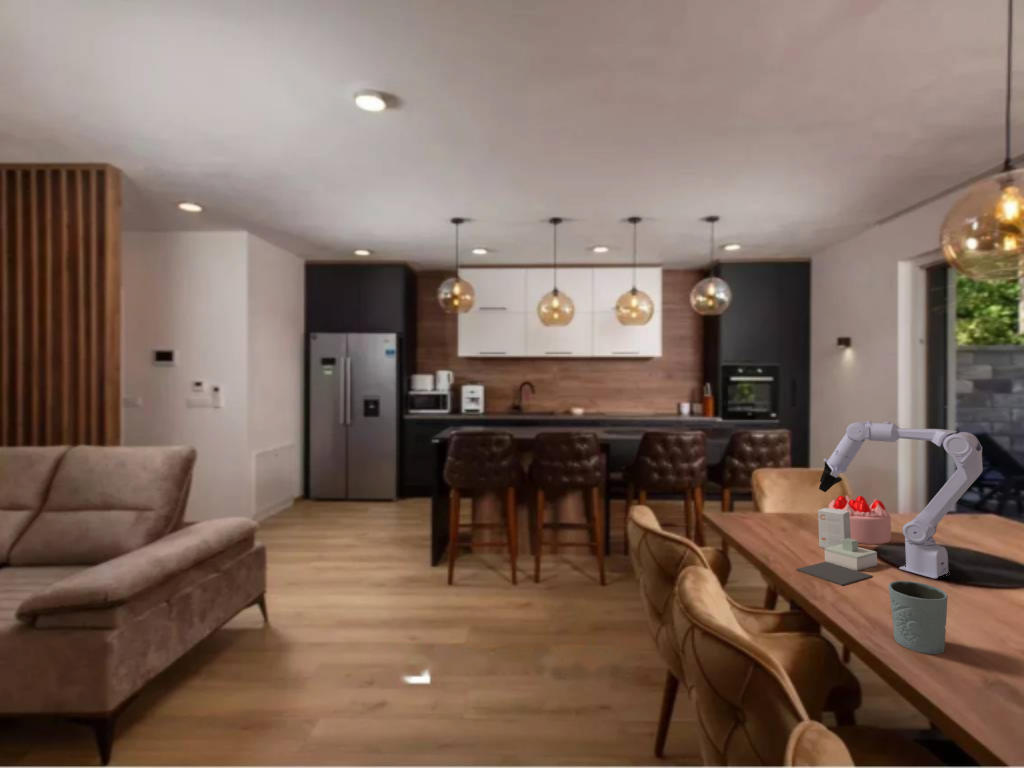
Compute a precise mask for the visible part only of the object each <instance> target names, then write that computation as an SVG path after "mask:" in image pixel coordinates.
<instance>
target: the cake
mask: <svg viewBox="0 0 1024 768" xmlns="http://www.w3.org/2000/svg"><path fill="white" fill-rule="evenodd" d="M873 499H874V500H873V502H872V503H871V504H869V503H868V501H867V500H866V498H865V497H864V496H863V495H859V496H856V498H855V499H851V498H850V497H849V496H848V495H847V494H846V495H845V496H843V495H838V497H837V498H834V499H833V500H832V501H831V502H830V503H828V507H827V508H829V509H836V510H844V511H849V513H850V531H851V539H854V540H858V544H861V545H862V544H864V545H865V544H866V545H884V544H888V543H890V542H891V541H892V523H891V522H892V521H891V519H892V518H891V515H890V513H888V510H886V506H885V505H884V503H883V502H882V500H880V499H879V500H878V499H876V498H875V497H874V498H873Z"/></svg>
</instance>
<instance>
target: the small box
mask: <svg viewBox="0 0 1024 768" xmlns="http://www.w3.org/2000/svg"><path fill="white" fill-rule="evenodd" d="M817 518H818V520H817V521H818V522H817V523H818V524H817V525H818V543H819V544H818V545H819V548H823V549H825V548H827V547H832V546H836V545H840V544H842V539H846V538H850V539H851V531H850V513H849V511H844V510H836V509H829V508H828V507H822V508H821V509H818V510H817Z"/></svg>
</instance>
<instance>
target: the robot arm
mask: <svg viewBox="0 0 1024 768" xmlns="http://www.w3.org/2000/svg"><path fill="white" fill-rule="evenodd" d="M845 432H846V433H845V434H844V436H843V437H842V438H841V440H840V441H839V443H838V445H837V446H836V447H835V449H834V451H833V452H832V453H831V455H830V456H829V458H826V457H824V458H823V461H824V468H823V471H822V474H821V476H820V480H819V482H820V483H819V487H818V489H819V491H822V492H824V493H826V492H828V491H829V490H830V489H831V488H832V487H833V486H834V485H836V484H837V483H839V482H841V481H842V480H843V478H841V477H840V476H839V475H840V474H843V473H846V471H847V469H848V467H849V465H850V464H851V463H852V461H853V460H854V458H855V457H856V456H857V454H858V453H859V451H860V449H861V448H862V446H863V445H864V443H865V441H866V440H868V441H872V442H873V441H875V442H885V443H886V442H887V443H890V442H891V443H895V442H897V441H898V440H899V439H904V440H914V441H915V440H916V441H928V442H932V443H933V444H935V445H936V446H937V447H939V448H940V447H942V446H943V448H944V450H945V452H946V453H947V454H948V455H949V456H950V457H951V458H952V459H953V461H954V464H955V466H956V468H957V469H956V470H955V472H954V473H952V475H951V476H950V478H949V479H948V480H947V481H946V482H945V483H944V485H943V486H942V487H941V488H940V489H939V491H938V492H936V494H935V495H934V497H933V498H932V499H931V500H930V501H929V502H928V504H927V505H926V506H925V507H924V508H923V510H922V511H921V512H920V513H919V514H917V516H916V517H914V518H912V520H911V521H908V522H906V523H905V524H904V525H903V527H902V533H903V536H904V545H905V547H904V549H905V550H904V551H905V565H903V566H900V567H899V568H898V569H899V570H901V571H905V572H910V573H913V574H915V575H916V574H917V575H920V576H923V577H927V578H929V579H934V580H935V579H939V578H938V577H939V576H942V575H944V574H947V573H948V572H949V558H948V557H949V555H948V550H947V549H946V548H945V547H944V546H941V545H938V544H937V543H936V542H937V541H936V539H935V538H934V537H933V536H934V535H936V533H937V528H938V527H937V526H938V525H939V524H940V522H941V521H942V519H943V518H944V517H945V516H946V514H948V512H949V511H950V510H951V509H952V507H954V505H955V504H956V503H957V502H958V501H959V499H961V497H962V496H963V495H964V494H965V493H966V492H967V490H968V489H969V488H970V487H971V486H972V484H973V483H975V481H976V480H977V479H978V478H979V477H980V475H981V474H982V473H983V470H984V469H983V468H984V467H983V446H982V445H981V443H980V441H979V439H978V438H977V437H976V435H974V434H972V433H971V432H968V431H967V432H966V431H960V432H958V431H957V430H950V429H941V428H906V427H905V428H902V427H899V426H898V425H897V424H895V423H891V421H883V423H881V422H880V423H879V422H872V421H869V420H868V421H866V422H864V421H859V422H853V423H850V424H849V425H848V426H847V427H846V430H845ZM905 566H906V567H905Z"/></svg>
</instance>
